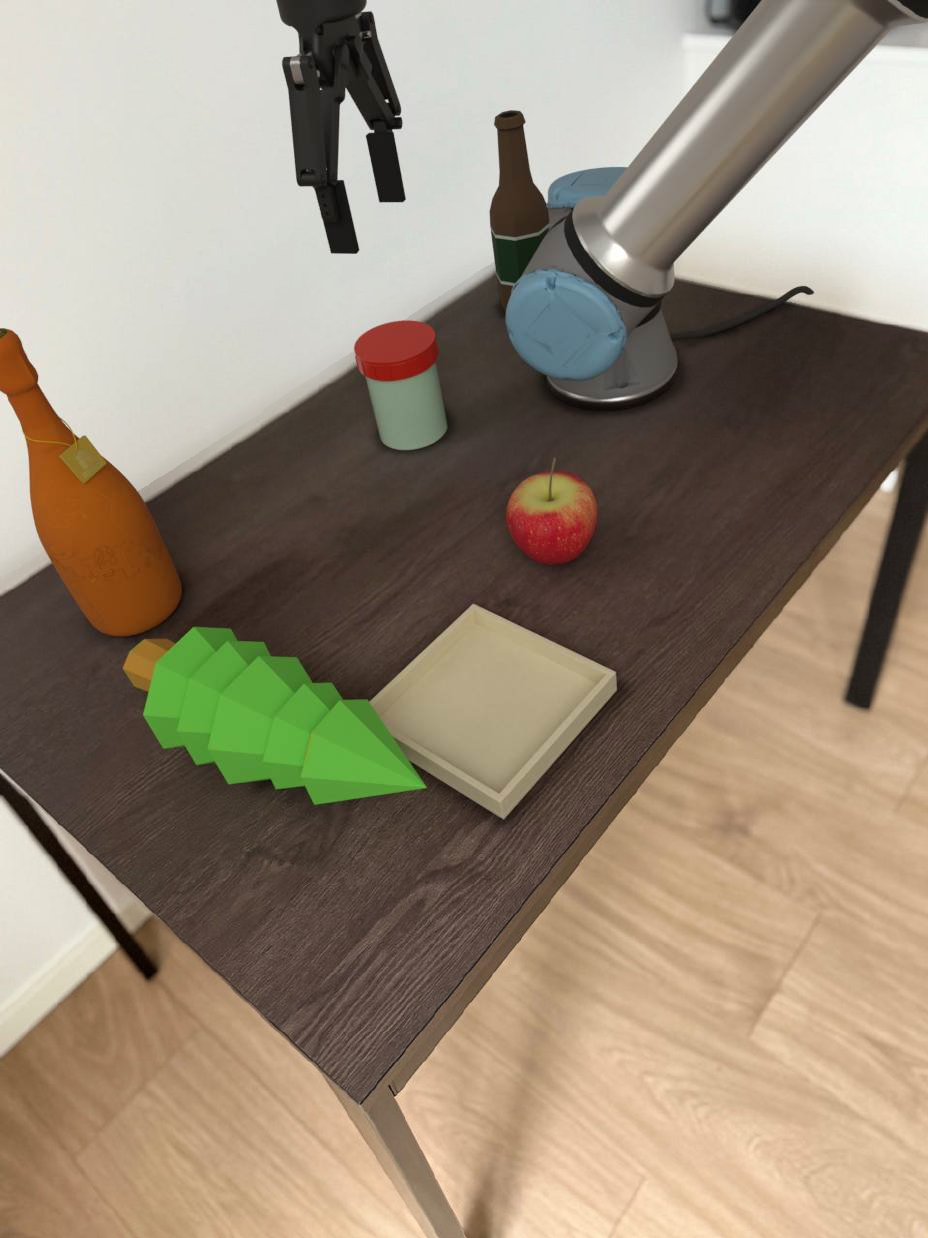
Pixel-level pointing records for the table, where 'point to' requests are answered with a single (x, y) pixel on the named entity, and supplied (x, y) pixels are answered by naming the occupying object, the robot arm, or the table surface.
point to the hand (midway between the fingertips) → (369, 225)
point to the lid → (396, 350)
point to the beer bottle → (515, 206)
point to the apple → (552, 516)
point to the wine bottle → (88, 514)
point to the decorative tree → (265, 718)
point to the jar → (409, 410)
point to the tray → (491, 707)
